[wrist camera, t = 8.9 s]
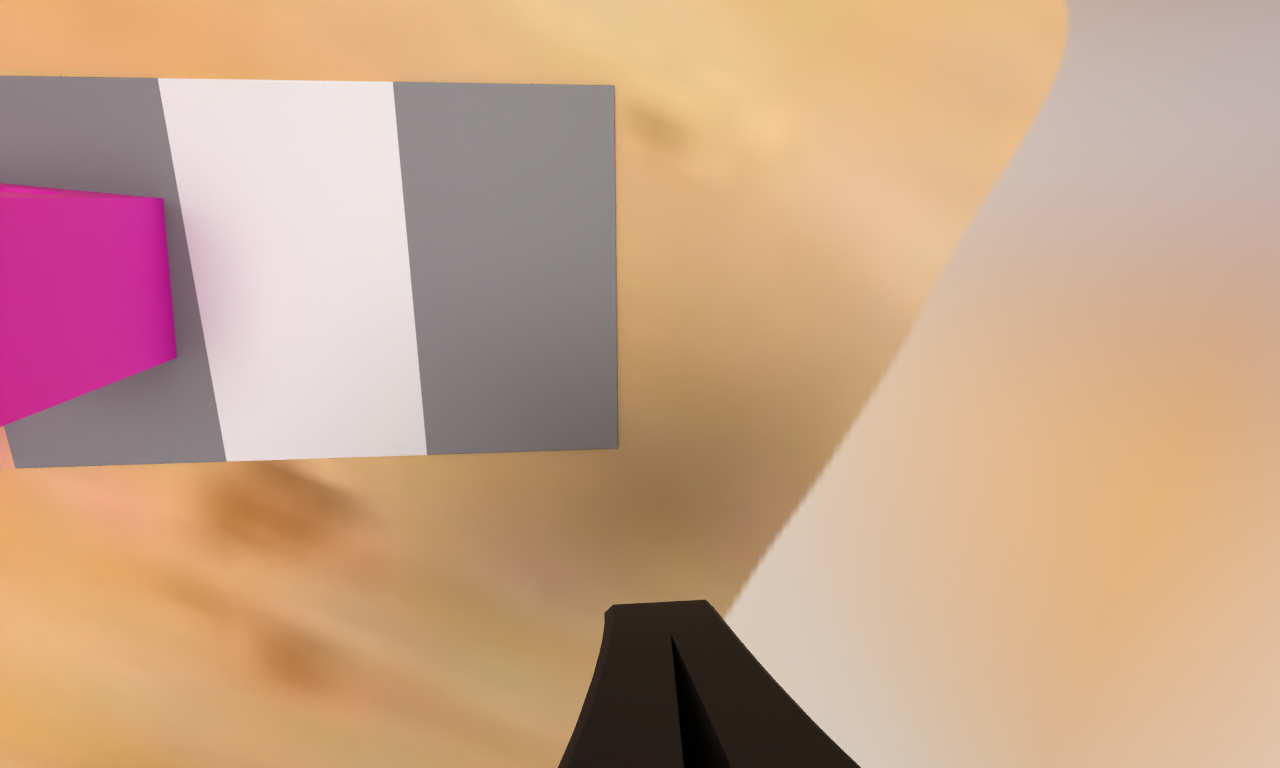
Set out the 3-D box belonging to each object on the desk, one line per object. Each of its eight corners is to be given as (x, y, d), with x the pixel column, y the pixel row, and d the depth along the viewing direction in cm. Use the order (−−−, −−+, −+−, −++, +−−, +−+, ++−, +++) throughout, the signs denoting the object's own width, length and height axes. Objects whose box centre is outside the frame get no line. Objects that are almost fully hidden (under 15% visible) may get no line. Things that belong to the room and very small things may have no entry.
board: (616, 440, 18) (617, 448, 18) (-407, 473, 16) (-444, 483, 16) (613, 89, 16) (614, 85, 15) (-591, 71, 14) (-643, 65, 13)
